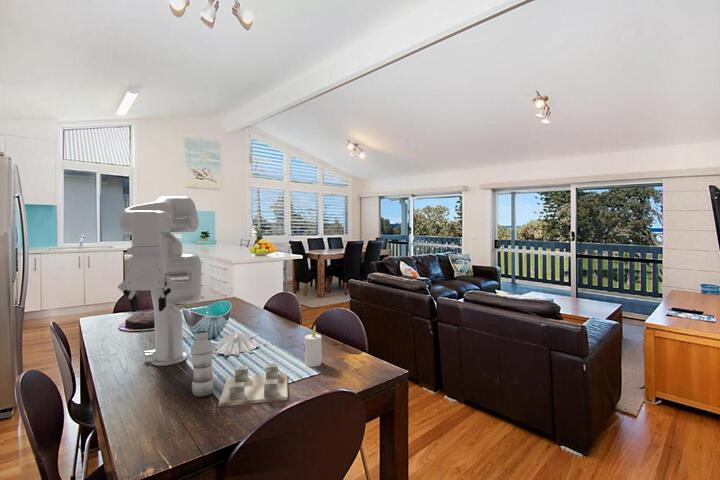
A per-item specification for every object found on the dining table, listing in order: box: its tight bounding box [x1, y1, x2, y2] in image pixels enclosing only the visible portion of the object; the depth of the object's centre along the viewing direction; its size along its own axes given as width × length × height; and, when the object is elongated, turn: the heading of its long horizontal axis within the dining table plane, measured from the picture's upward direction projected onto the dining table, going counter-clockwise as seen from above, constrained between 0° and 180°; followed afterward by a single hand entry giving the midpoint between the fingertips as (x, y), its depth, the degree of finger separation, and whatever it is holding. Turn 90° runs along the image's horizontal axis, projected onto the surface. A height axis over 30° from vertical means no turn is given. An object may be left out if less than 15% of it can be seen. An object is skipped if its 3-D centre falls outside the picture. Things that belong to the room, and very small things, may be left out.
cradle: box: [217, 363, 289, 408], centre depth 118 cm, size 20×18×5 cm
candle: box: [303, 324, 322, 368], centre depth 139 cm, size 6×6×15 cm
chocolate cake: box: [118, 310, 155, 333], centre depth 192 cm, size 28×28×7 cm
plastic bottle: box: [190, 329, 215, 398], centre depth 114 cm, size 6×7×20 cm
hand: (148, 310), depth 110 cm, fingers open, 6 cm apart
